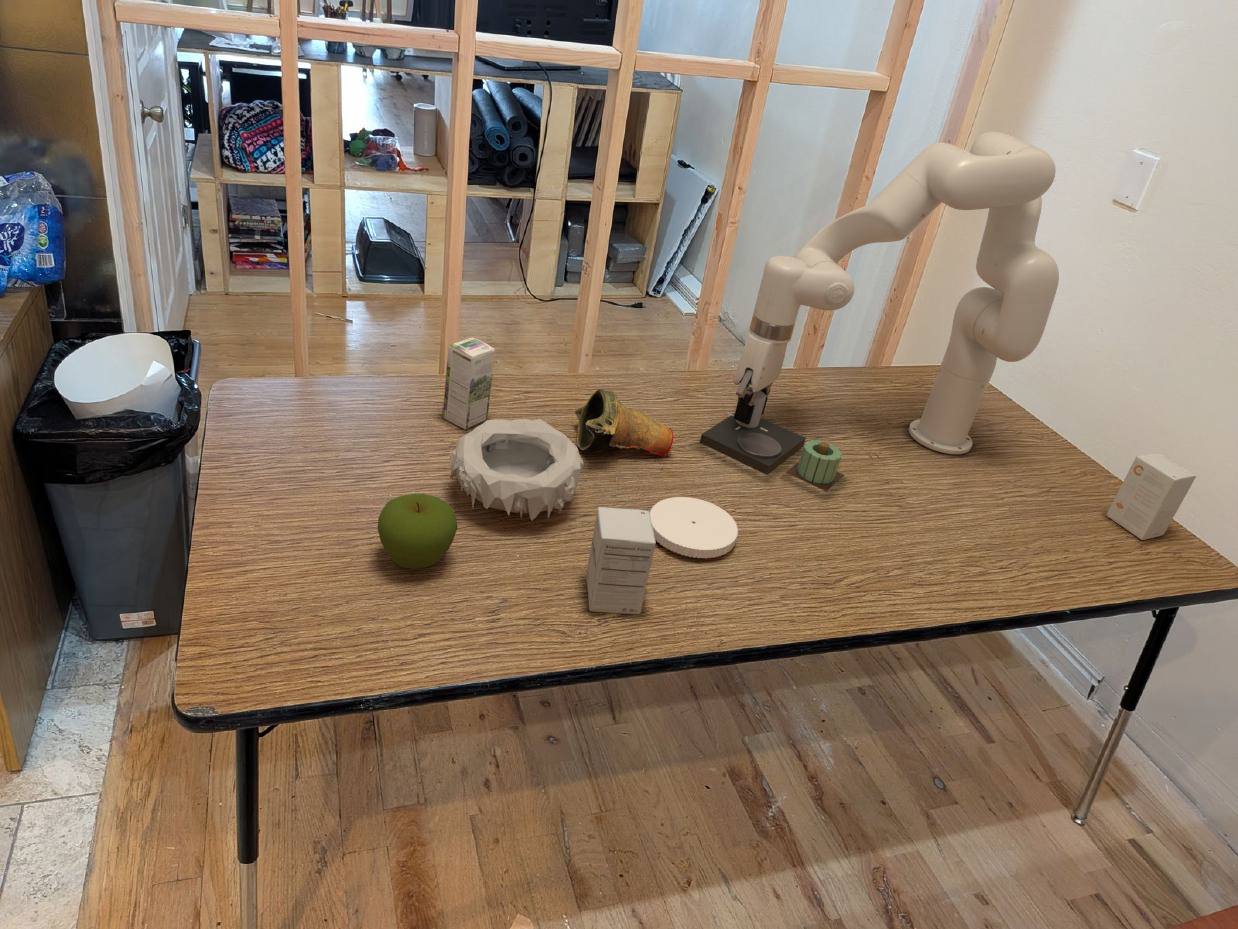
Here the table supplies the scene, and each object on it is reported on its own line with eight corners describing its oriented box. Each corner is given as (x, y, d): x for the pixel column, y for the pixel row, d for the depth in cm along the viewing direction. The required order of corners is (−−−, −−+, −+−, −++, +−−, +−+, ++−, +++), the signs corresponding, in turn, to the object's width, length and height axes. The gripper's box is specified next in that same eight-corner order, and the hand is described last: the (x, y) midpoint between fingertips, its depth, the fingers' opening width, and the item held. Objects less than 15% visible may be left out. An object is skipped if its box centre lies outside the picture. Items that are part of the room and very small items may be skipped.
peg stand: (803, 462, 169) (813, 428, 165) (842, 480, 166) (854, 446, 162) (784, 477, 163) (794, 442, 159) (824, 497, 160) (836, 461, 156)
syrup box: (464, 408, 166) (470, 335, 159) (488, 421, 164) (496, 347, 156) (442, 418, 162) (446, 343, 155) (466, 431, 160) (472, 355, 152)
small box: (1163, 536, 167) (1198, 475, 160) (1141, 541, 164) (1175, 480, 157) (1126, 510, 173) (1158, 451, 166) (1104, 515, 170) (1135, 455, 163)
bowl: (601, 492, 150) (610, 439, 145) (540, 555, 133) (548, 498, 128) (492, 449, 156) (497, 397, 151) (421, 504, 139) (423, 448, 134)
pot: (696, 427, 155) (602, 390, 148) (671, 488, 156) (576, 455, 150) (661, 408, 171) (574, 374, 164) (638, 464, 172) (551, 433, 166)
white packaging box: (584, 577, 131) (597, 504, 124) (635, 581, 132) (651, 509, 125) (587, 612, 124) (600, 537, 118) (641, 616, 125) (657, 542, 119)
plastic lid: (745, 564, 139) (749, 551, 138) (655, 562, 136) (658, 549, 135) (721, 511, 151) (725, 498, 150) (638, 508, 148) (641, 495, 146)
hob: (734, 420, 179) (738, 405, 178) (802, 451, 173) (806, 436, 171) (694, 446, 168) (697, 431, 166) (765, 480, 161) (769, 465, 160)
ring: (806, 459, 168) (814, 436, 165) (839, 474, 165) (847, 451, 162) (791, 472, 163) (798, 448, 160) (824, 488, 160) (832, 464, 157)
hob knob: (742, 414, 175) (750, 384, 172) (762, 423, 173) (770, 393, 170) (731, 421, 172) (738, 391, 169) (751, 430, 170) (759, 400, 167)
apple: (417, 596, 122) (420, 535, 117) (359, 562, 126) (359, 502, 121) (470, 559, 130) (475, 501, 125) (414, 528, 134) (417, 470, 129)
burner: (750, 430, 170) (750, 428, 170) (788, 448, 166) (789, 445, 166) (728, 445, 164) (729, 442, 164) (768, 463, 160) (768, 460, 160)
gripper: (774, 309, 170) (752, 396, 180) (730, 331, 158) (708, 423, 167) (811, 323, 167) (786, 411, 177) (768, 346, 155) (744, 439, 164)
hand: (748, 416), depth 172 cm, fingers closed on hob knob, 4 cm apart
